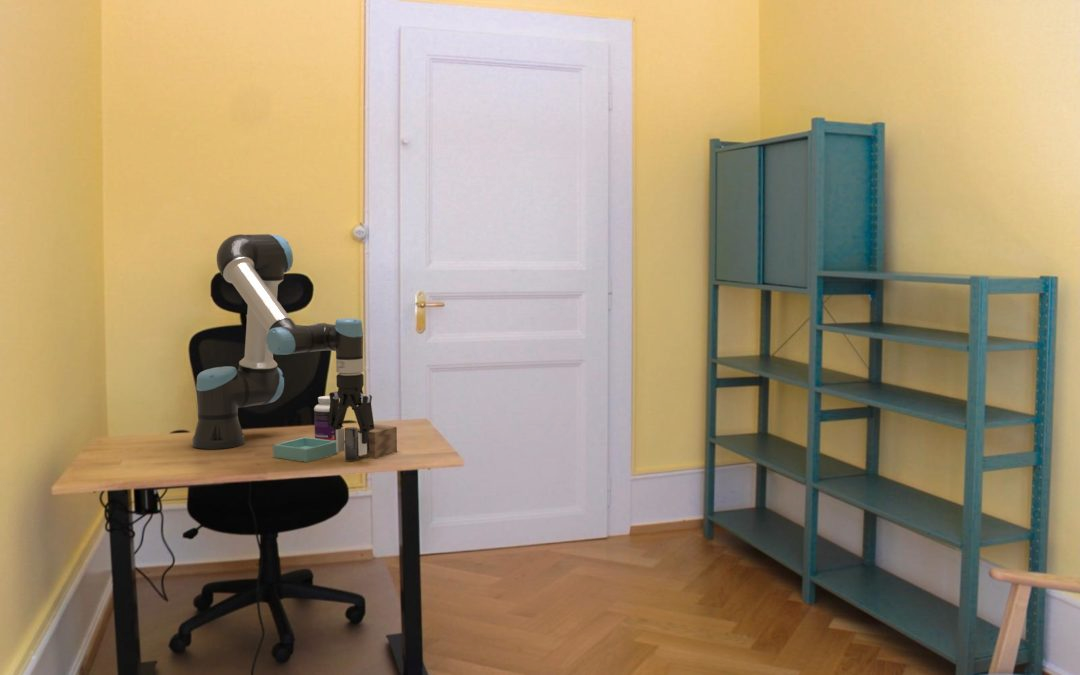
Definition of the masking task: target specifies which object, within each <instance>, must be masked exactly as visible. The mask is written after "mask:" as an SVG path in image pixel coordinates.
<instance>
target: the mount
mask: <svg viewBox="0 0 1080 675" xmlns="http://www.w3.org/2000/svg"><path fill="white" fill-rule="evenodd" d="M397 430H398V427H397V426H392V425H383V424H377V423H376V424H375V423H374V429H373V430H370V431H369V432H368V437H369V449H367V454H365V455H362V456H361V457H364V458H371V459H378V458H380V457H383V456H388V455H391V454H394V453H397V452H398V435H397V434H398V433H397ZM359 432H360V428H358V433H359ZM358 457H360V456H359V451H358Z"/></svg>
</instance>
